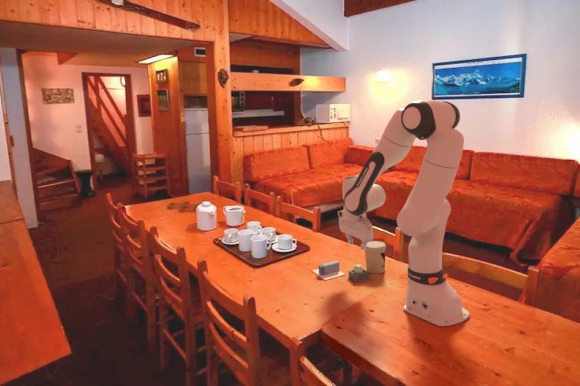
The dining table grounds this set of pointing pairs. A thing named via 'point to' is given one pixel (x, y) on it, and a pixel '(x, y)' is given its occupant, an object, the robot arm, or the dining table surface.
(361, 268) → the button
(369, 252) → the coffee cup
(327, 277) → the paper
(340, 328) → the dining table surface
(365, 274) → the button housing
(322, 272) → the grey rectangular block
